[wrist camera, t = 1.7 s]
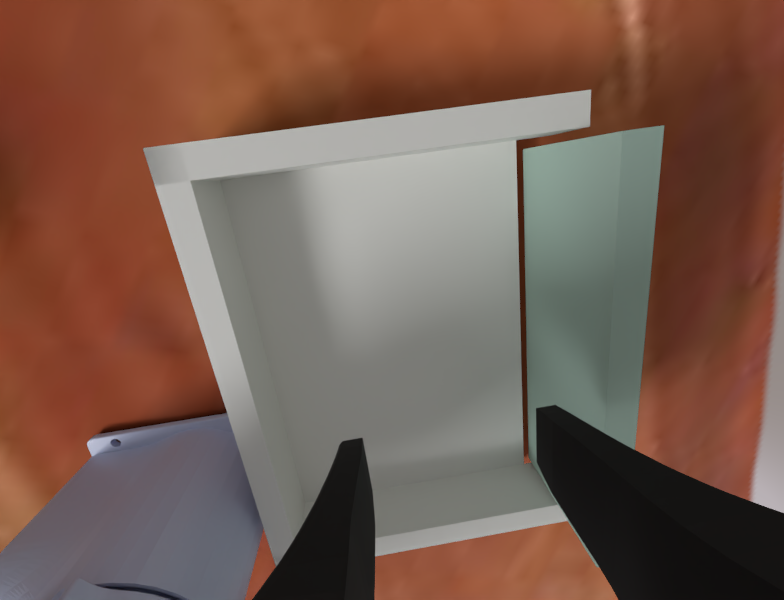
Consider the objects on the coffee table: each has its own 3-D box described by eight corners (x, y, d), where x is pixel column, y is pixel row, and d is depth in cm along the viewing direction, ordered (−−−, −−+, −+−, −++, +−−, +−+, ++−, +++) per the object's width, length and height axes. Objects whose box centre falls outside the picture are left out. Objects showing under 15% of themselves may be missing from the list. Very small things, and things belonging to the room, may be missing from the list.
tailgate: (528, 457, 22) (596, 567, 16) (522, 149, 16) (622, 130, 10) (548, 454, 22) (624, 561, 16) (549, 145, 17) (664, 125, 10)
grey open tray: (292, 501, 23) (278, 574, 19) (197, 156, 17) (142, 148, 12) (537, 458, 24) (576, 519, 19) (533, 111, 17) (591, 89, 13)
